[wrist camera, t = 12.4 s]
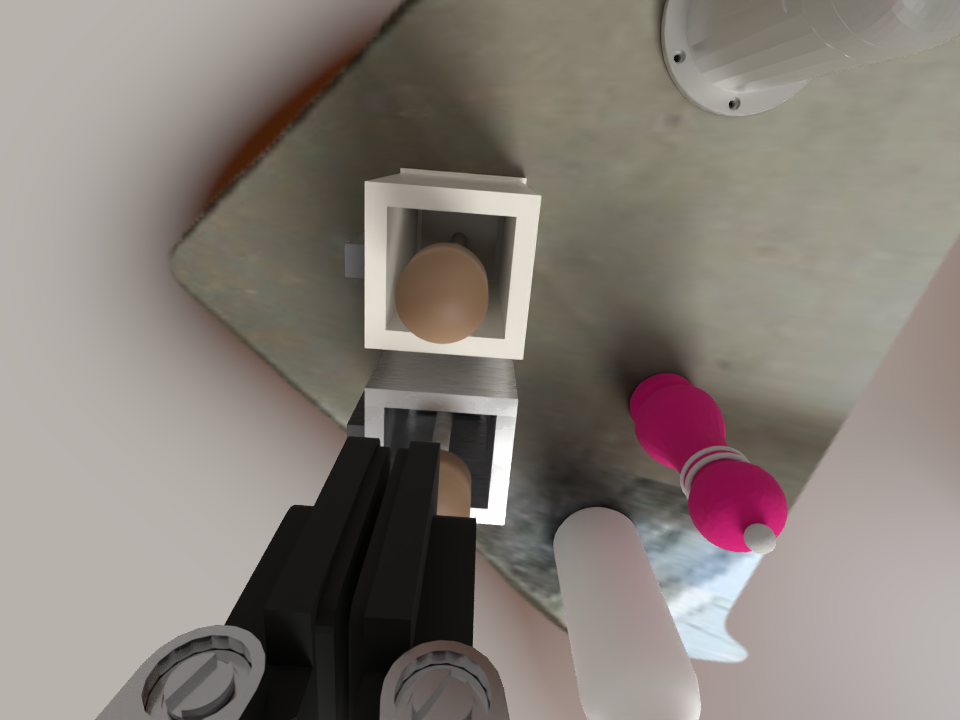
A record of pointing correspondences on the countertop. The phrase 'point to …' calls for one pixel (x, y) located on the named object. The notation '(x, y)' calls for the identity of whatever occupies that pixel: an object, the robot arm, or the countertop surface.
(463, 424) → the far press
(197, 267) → the countertop surface
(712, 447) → the pepper mill
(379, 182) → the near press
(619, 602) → the alcohol
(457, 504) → the far plunger
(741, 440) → the countertop surface
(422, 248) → the near plunger
